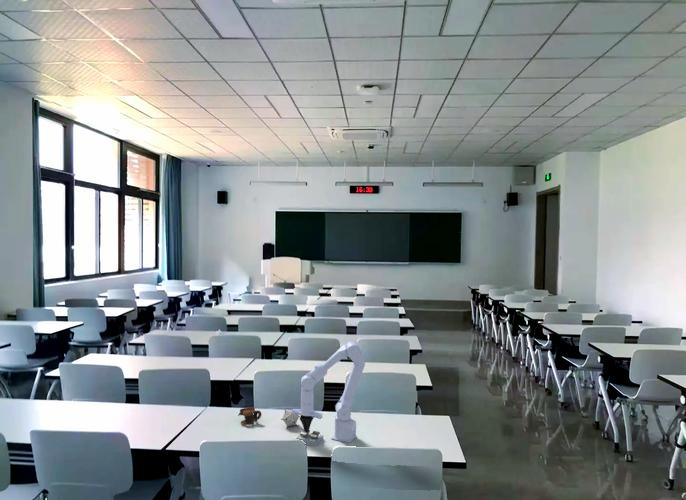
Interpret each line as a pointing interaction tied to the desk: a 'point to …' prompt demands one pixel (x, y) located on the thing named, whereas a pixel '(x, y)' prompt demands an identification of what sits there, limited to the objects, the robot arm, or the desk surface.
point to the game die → (290, 418)
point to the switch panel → (311, 439)
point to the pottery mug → (249, 415)
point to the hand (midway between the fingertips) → (306, 431)
